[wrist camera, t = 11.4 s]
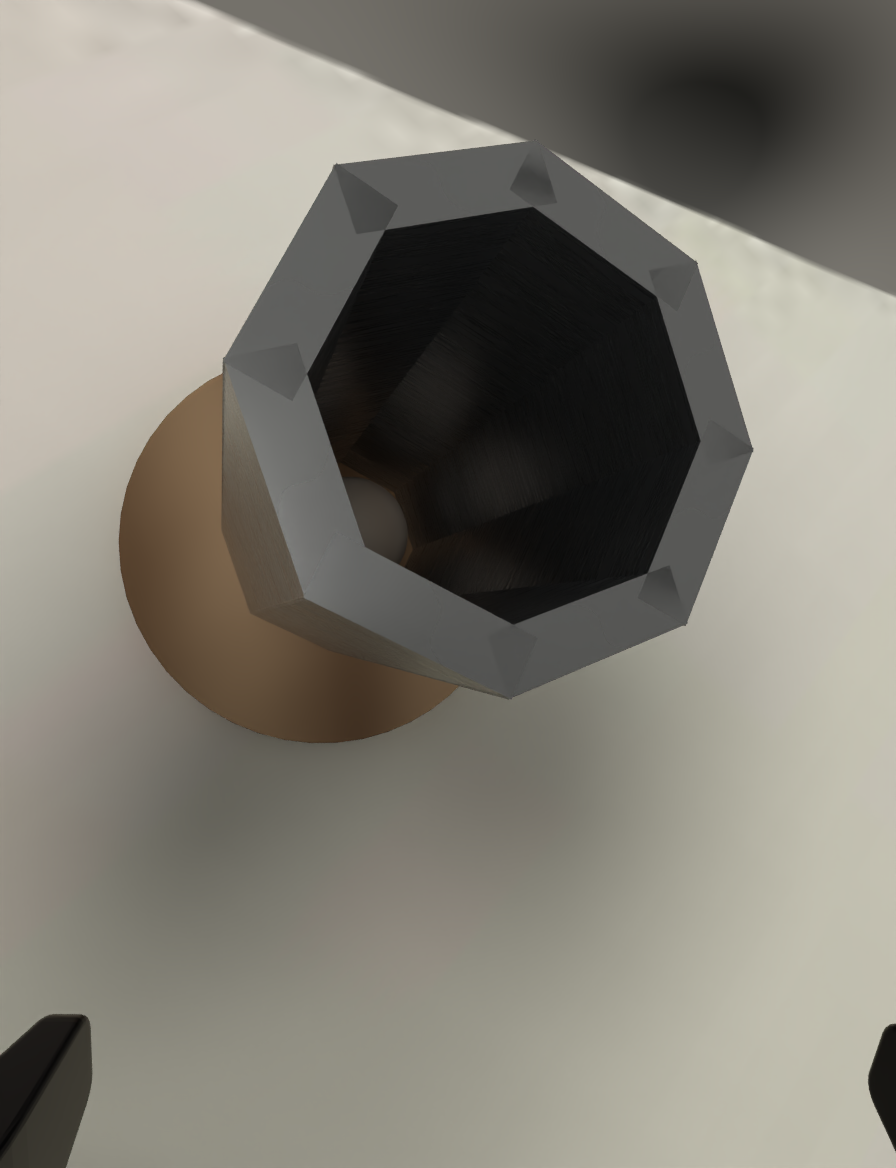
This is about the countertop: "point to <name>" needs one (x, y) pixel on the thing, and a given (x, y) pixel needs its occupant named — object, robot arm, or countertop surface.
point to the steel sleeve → (479, 422)
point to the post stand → (218, 607)
